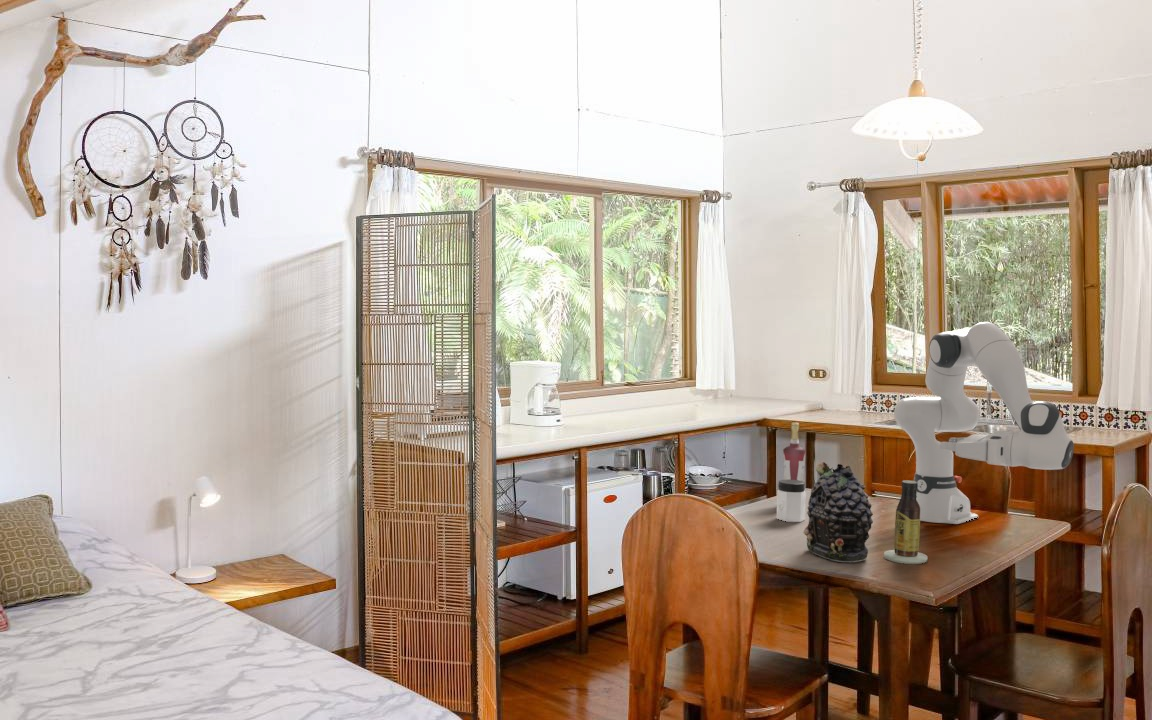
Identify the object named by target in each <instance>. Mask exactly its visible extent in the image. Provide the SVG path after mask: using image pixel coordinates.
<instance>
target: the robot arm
mask: <svg viewBox="0 0 1152 720" xmlns="http://www.w3.org/2000/svg"><path fill="white" fill-rule="evenodd" d="M928 352H929V360H928V366H927V370H926V374H925V378H924V379H925V380H924V381H925V382H924V383H925V386H926V387H927V389H928V390H929V391H930V392H931V393H932V394H933V395H935V396H911V397H904V398H901V399H900V400H899V401H898V402H897V403H896V404H895V406H894V410H893V411H894V412H893V416H894V420H895V422H896V424H897V425H898V427H899V428H901V429H903V431H904V432H905V433H906V434H907V435H908V436H909V437H910V440H911V441H912V443H913V446H914V450H915V465H916V466H915V473H914V477H913V481H916V482H918V487H917V494H916V496H917V498H916V500H917V502H918V504H919V506H920V522H927V523H938V524H951V525H952V524H953V525H959V524H963V523H967V522H969V520H970V521H972V520H971V519H973V520H975V519H974V518H977V517H978V518H979V515H978V514H977V513H973V512H971V501H970V499H969V498H968V497H967V495H965V494H964V493H963V492H962V490H960V489H958V487H957V483H960V484H961V483H962V481H963V478H962V476H958V475H954V454H955V456H956V457H959V458H962V459H969V460H974V461H980V462H986V463H987V464H988V465H994V466H1005V467H1012V468H1013V467H1026V468H1029V469H1034V470H1045V471H1046V470H1048V471H1049V470H1050V471H1051V470H1052V471H1055V470H1063V469H1065V468H1067V467H1068V466H1070V463H1071V461H1072V459H1073V456H1074V449H1075V446H1074V441H1073V440H1072V438H1070V436H1069V434H1068V433H1067V430H1066V429H1065V426H1064V424H1063V418H1062V415H1061V413H1060V409H1058V407H1057V406H1056V405H1055V404H1053V403H1051V402H1049V401H1042V400H1037V401H1032V398H1031V396H1030V392H1029V387H1028V383H1027V382H1028V381H1027V376H1026V369H1025V365H1024V361H1023V359H1022V357H1021V354H1020V352H1019V350H1018V348H1017V347H1016V346H1015V344H1014V343H1013V341H1012V340H1011V339H1010V338H1009V336H1007V334H1006V333H1005V331H1004V330H1003V329H1002V328H1000V327H998V326H997V324H995V323H992V322H989V321H983V322H978V323H976V324H974V325H972V326H971V327H967V328H966V327H965V328H961V329H956V330H952V331H951V330H950V331H942V332H939V333H937V334H935V335H932V338H931V339H930V341H929V345H928ZM972 366H977V368H978V370H979V371H980V372H981V373H982V375H983V376H984V378H985V379H986V380H987V382H988V383H989V384H990V386H991V387H992V388H993V390H994V391H995V392H996V393H997V395H998V396H999V398H1000V399H1001V401H1003V403H1004V405H1005V407H1006V408H1007V409H1008V411H1009V413H1010V414H1011V417H1012V418H1013V420H1014V422H1015V423H1016V426H1017V427H1018V428H1019V430H1020V431H1007V430H995V431H993V434H988V435H987V434H975V433H973V434H971V435H969V436H967V437H950V438H949V439H948V441H939V440H937V439H936V433H937V432H944V433H945V432H949V433H959V432H960V433H961V432H965V431H972V430H973V429H974V428H975V427H976V426H977V424H978V423H979V421H980V410H979V407H978V405H977V404H976V403H975V401H974V400H972V399H971V398H969V397H968V395H967V394H966V392H965V388H964V387H965V386H964V385H965V379H966V374H967V369H968V367H972ZM954 452H955V453H954ZM978 518H977V519H978ZM966 521H967V522H966Z"/></svg>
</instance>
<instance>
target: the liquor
mask: <svg viewBox="0 0 1152 720" xmlns="http://www.w3.org/2000/svg"><path fill="white" fill-rule="evenodd" d="M790 429H791V431H790V432H791V433H790V440H789V441H790V443H789V445H788V446H785V447H784V448H783V450H782V453H783V454H782V455H783V458H782V459H783V461H782V463H783V464H782V465H783V466H782V467H783V480H799V481H803V482H804V475H805V474H804V473H805V463H806V462H805V461H806V449H805V448H804V447H802V446H800V441H799V438H800V437H799V430H800V423H799V422H791V423H790Z"/></svg>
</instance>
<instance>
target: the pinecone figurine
mask: <svg viewBox="0 0 1152 720" xmlns="http://www.w3.org/2000/svg"><path fill="white" fill-rule="evenodd" d="M815 471H816V482H814V484H813V487H812V488H811V489H810V496H809V499H808V506H807V511H806V514H807V515H808V524H807V526H806V527H805V528H804V530H803V531H802V533H803V534H804V535H805V536H806V547H807V550H808V551H809V552H810V553H812V554H815V555H818V556H819V557H821V558H823V559H828V560H830V561H834V562H837V563H838V562H839V563H857V562H862V561H866V560H867V557H868V553H869V549H868V547H867V546H866V542H867V540H869V538H870V535H869V531H870V530H871V529H872V524H873V523H874V520H873V519H872V517H873V515H874V513H873V511H872V510H871V509H872V503H871V502H870V501H869V495H868V494H867V493H866V492H865V489H866V485H864V484H862V483H861V482H860V480H859V479H858V478H857V477H856V476H855V474H854V472H852V468H851V467H850V466H849V465H847V466H845V467H844V465H843V464H842V463H840V464H839V463H838V464H837V467H836V468H835V469H834V468H833V467H832V468H830V466H829V465H828V464H827V463H826V462H824V461H821V462H819V463H818V464H816V466H815Z"/></svg>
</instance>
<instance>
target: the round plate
mask: <svg viewBox="0 0 1152 720" xmlns="http://www.w3.org/2000/svg"><path fill="white" fill-rule="evenodd" d="M883 558H884V559H885V560H887V561H889V562H893V563H897V564H903V563H904V564H903V565H922V563H923V564H926V563H928V555H926V554H925V553H923V552H919V551H918V555H917V556H914V557H907V556H900V555H898V554H896V553H895V549H889V550H885V551H884V553H883ZM925 562H926V563H925Z"/></svg>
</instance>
